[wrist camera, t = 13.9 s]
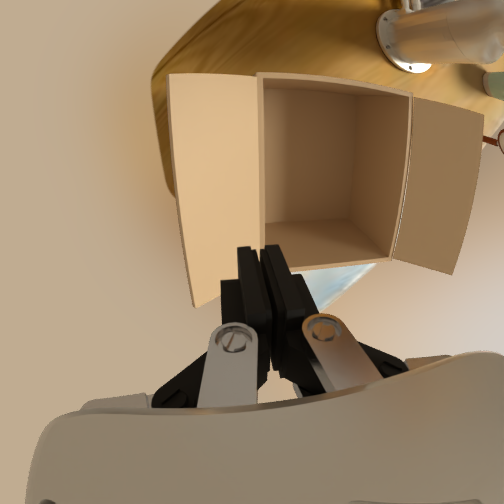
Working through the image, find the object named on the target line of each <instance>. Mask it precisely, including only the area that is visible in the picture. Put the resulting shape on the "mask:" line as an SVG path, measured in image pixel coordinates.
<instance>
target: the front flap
mask: <svg viewBox="0 0 504 504" xmlns="http://www.w3.org/2000/svg"><path fill="white" fill-rule="evenodd" d="M166 89H167V109H168V124H169V138H170V150H171V160H172V170H173V180H174V189H175V197H176V205H177V212H178V220H179V227H180V234H181V241H182V247H183V254H184V260H185V265H186V271H187V277H188V283H189V288H190V294H191V299H192V305H193V307H194V308H198V307H199V306H201V305H203V304H205V303H207V302H208V301H210V300H212V299H214V298H216V297H217V296H219V295H221V288H220V280H228V279H238V263H237V247H243V246H251V250H252V249H256V251H257V254H258V258H259V262H260V218H259V153H258V103H257V77H254V76H243V75H229V74H197V73H188V74H168V75H166Z"/></svg>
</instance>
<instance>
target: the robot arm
mask: <svg viewBox="0 0 504 504" xmlns="http://www.w3.org/2000/svg"><path fill="white" fill-rule="evenodd" d="M410 3H411V7H412V10H410V9H409V1H408V0H401V4H402V8H401V10H399V9H392V10H388V11H386V12H384V13H383V14H381V16H380V17H379V18H378V21H377V25H376V34H377V38H378V42H379V44H380V47H381V48H382V50H383V52H384V54H385V55H386V56H387V58H388V59H389V60H390V61H391V62H392V63H393V64H394V65H395V66H397V67H398V68H400V69H401V70H403V71H406V72H408V73H422V72H424V71H426V70H427V69H428V68H429V67H430V66H431V64H445V63H466V64H491V63H493V62H495V61H497V60H498V59H499V58H500V57H501V56H502V54H503V53H504V0H458V1H453V2H448V3H444V4H439V5H435V6H431V7H427V8H423V9H421V3H420V0H410ZM237 263H238V279H228V280H220V288H221V311H222V312H221V313H222V325H221V326H219V327H218V328H216V329H215V330H214V331H213V333H212V334H211V337H210V341H209V346H208V351H207V352H206V353H204V354H203V355H202V356H200V357H199V358H198V359H197V360H195V361H194V362H193V363H192V364H191V365H189V366H188V367H186V368H185V369H184V370H183V371H182V372H180V373H179V374H177V375H176V376H175V377H174V378H172V379H171V380H170V381H168V382H167V383H166V384H165V385H163V386H162V387H161V388H159V389H158V390H157V391H156V392H155V394H152V395H146V394H145V393H140V394H134V395H127V396H120V397H113V398H104V399H95V400H91V401H88V402H87V403H85V404H84V405H83V406H82V408H81V409H80V410H79V411H75V412H71V413H67V414H64V415H62V416H59V417H57V418H55V419H54V420H52V421H51V422H50V423H49V424H48V425H47V426H46V427H45V429H44V430H43V432H42V434H41V436H40V438H39V441H38V443H37V446H36V449H35V452H34V455H33V459H32V462H31V467H30V472H29V477H28V483H27V489H26V499H25V504H504V356H503V355H501V354H499V353H496V352H492V351H474V352H467V353H463V354H458V355H454V356H450V355H441V356H432V357H422V358H409V359H406V360H405V361H404V362H402V360H400V359H398V358H397V357H394V356H392V355H389V354H387V353H385V352H382V351H380V350H377V349H375V348H372V347H370V346H368V345H365V344H363V343H360V342H358V341H357V340H356V339H355V338H354V336H353V335H352V334H351V332H350V331H349V330H348V328H347V327H346V325H345V324H344V323H343V322H342V321H341V320H340V319H339V318H337V317H335V316H333V315H330V314H322V313H321V314H319V311H318V309H317V307H316V305H315V303H314V300H313V298H312V296H311V294H310V292H309V289H308V287H307V285H306V283H305V281H304V278H303V276H302V275H301V274H292V275H291V272H290V270H289V268H288V265H287V263H286V260H285V258H284V256H283V253H282V251H281V248H280V246H279V244H274V245H265V247H264V249H260V262H259V258H258V254H257V251H256V249H252V250H251V246H243V247H237ZM270 357H271V362H272V366H273V370H274V371H279V375H280V378H286V379H288V380H289V381H291V382H293V388H294V391H295V393H296V395H297V397H298V398H297V399H290V400H283V401H276V402H268V403H260V404H257V400H258V399H257V398H258V389H259V388H260V387H261V386H262V385H263V384H264V383H265V382H266V381H267V372H269V371H270Z"/></svg>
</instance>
